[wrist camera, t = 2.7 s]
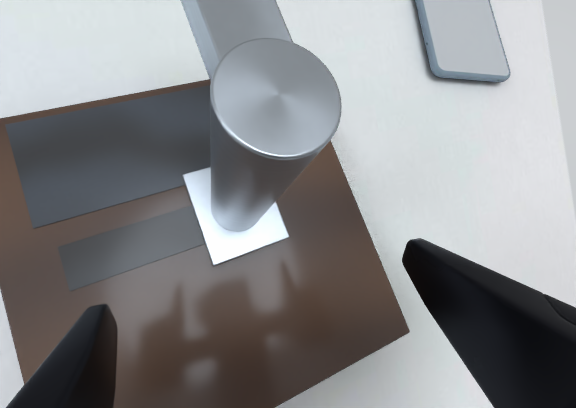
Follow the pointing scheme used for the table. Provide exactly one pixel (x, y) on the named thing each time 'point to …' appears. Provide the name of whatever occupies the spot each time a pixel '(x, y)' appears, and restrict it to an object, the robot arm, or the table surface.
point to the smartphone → (463, 40)
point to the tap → (255, 122)
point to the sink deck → (180, 259)
